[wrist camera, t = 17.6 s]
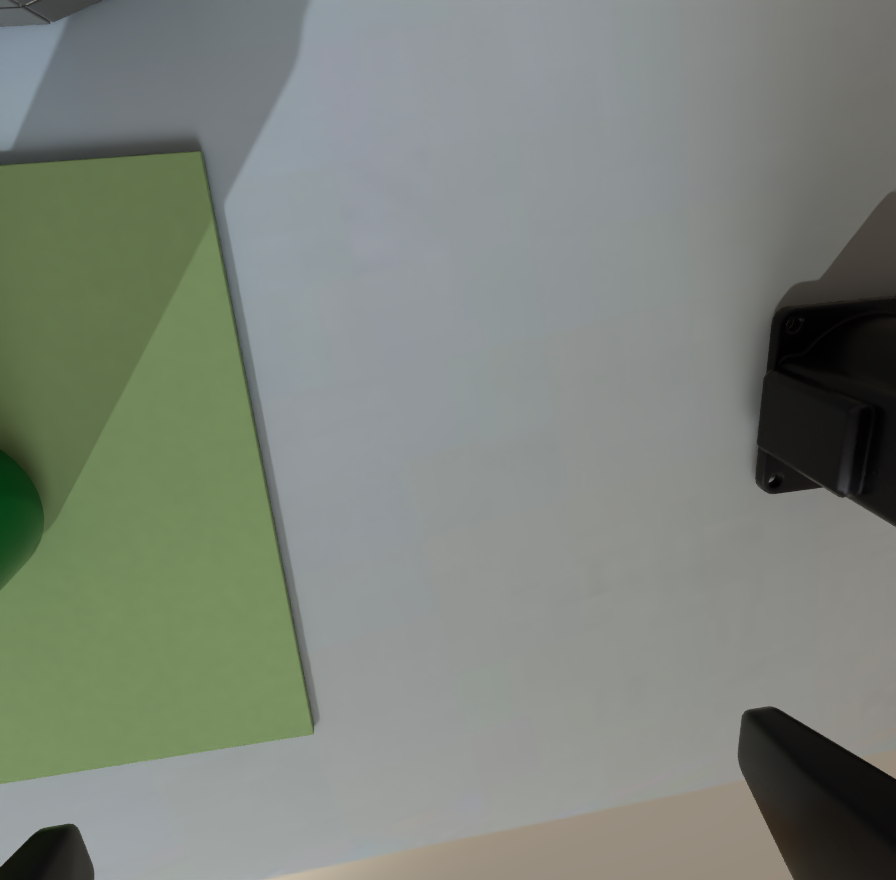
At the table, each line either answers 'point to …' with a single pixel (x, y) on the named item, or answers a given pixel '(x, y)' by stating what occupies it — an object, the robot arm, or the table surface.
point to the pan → (38, 11)
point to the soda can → (17, 518)
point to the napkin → (133, 479)
